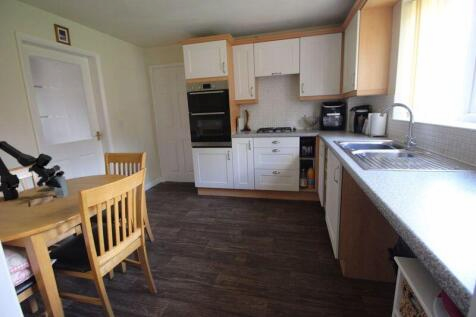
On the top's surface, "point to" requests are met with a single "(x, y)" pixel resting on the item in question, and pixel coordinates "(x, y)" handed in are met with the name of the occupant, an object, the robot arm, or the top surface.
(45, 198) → the walnut pad
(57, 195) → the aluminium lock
